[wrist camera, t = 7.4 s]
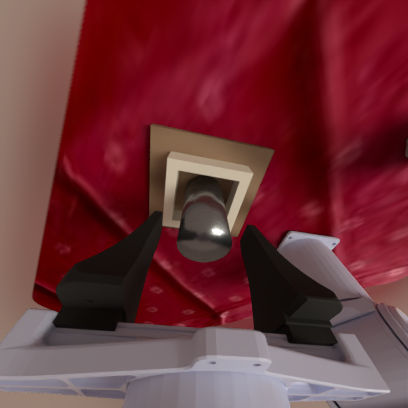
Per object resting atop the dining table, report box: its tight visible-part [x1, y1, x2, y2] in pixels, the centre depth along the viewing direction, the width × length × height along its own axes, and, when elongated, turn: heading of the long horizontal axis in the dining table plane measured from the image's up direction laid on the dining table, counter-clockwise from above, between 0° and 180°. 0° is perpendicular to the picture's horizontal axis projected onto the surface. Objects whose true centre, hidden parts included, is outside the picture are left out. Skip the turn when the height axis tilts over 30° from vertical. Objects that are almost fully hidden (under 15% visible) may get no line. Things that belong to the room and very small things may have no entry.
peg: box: [177, 175, 232, 262], centre depth 15 cm, size 4×4×8 cm
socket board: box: [149, 124, 274, 237], centre depth 18 cm, size 12×12×3 cm
